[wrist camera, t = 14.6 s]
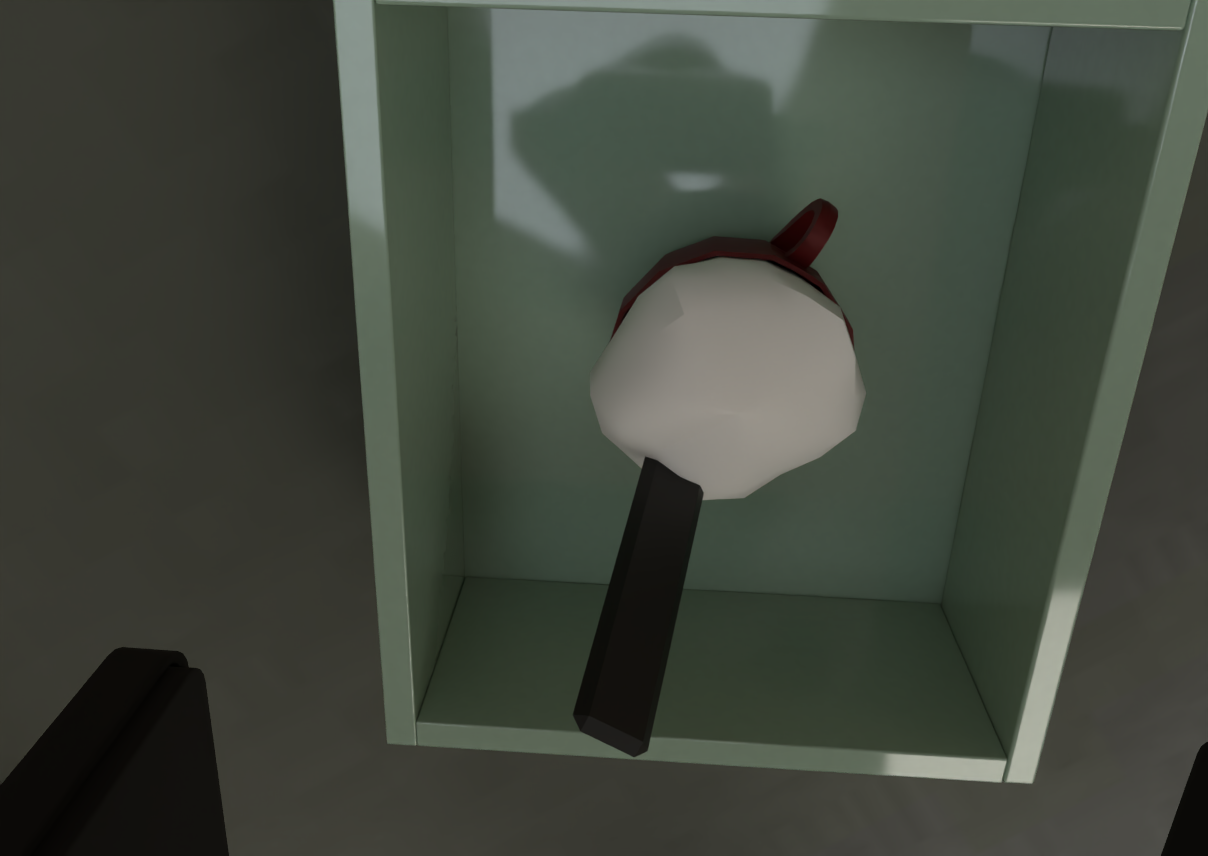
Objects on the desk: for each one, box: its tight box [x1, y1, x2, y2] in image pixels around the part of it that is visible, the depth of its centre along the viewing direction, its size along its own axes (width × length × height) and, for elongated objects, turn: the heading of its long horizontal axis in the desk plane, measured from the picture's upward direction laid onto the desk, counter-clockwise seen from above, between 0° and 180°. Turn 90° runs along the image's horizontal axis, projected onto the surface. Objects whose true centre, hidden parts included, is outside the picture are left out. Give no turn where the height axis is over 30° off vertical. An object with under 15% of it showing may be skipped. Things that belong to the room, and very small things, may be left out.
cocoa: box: [573, 198, 866, 757], centre depth 23 cm, size 10×6×12 cm, turn 128°
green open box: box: [333, 0, 1208, 784], centre depth 26 cm, size 17×19×8 cm
